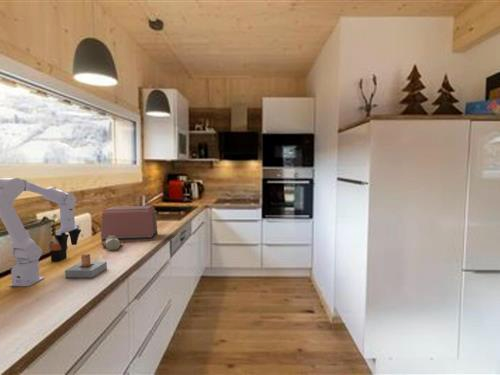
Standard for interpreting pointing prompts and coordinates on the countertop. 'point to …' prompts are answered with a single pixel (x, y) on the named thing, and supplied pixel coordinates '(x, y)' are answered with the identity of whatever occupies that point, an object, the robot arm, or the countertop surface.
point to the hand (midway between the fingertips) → (69, 246)
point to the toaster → (129, 223)
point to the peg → (85, 260)
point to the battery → (57, 252)
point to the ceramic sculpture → (111, 243)
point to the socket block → (86, 270)
